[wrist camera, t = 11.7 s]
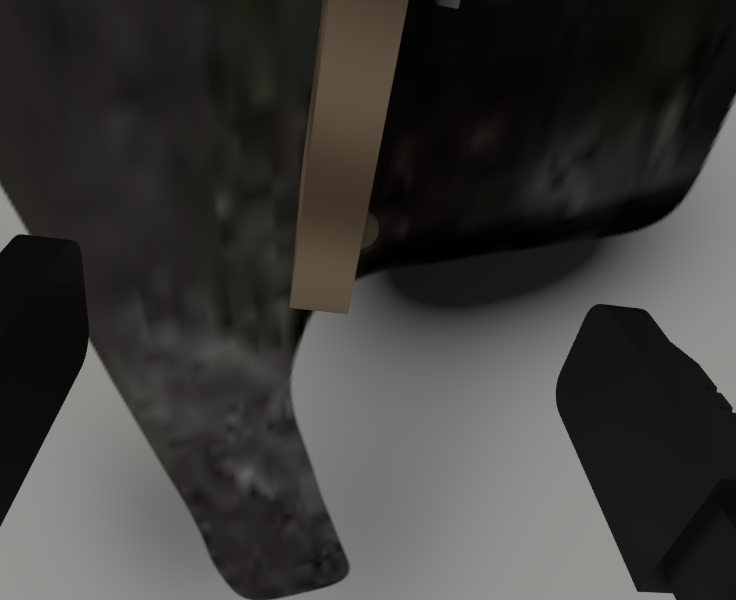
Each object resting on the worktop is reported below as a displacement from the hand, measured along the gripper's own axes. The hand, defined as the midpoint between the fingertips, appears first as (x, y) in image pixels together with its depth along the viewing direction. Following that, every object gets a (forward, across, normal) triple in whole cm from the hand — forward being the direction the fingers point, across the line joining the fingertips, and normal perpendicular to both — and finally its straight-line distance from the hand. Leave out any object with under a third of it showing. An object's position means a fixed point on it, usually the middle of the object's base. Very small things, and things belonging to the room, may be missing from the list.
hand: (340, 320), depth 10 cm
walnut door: (+20, 0, 0) cm, 20 cm away
